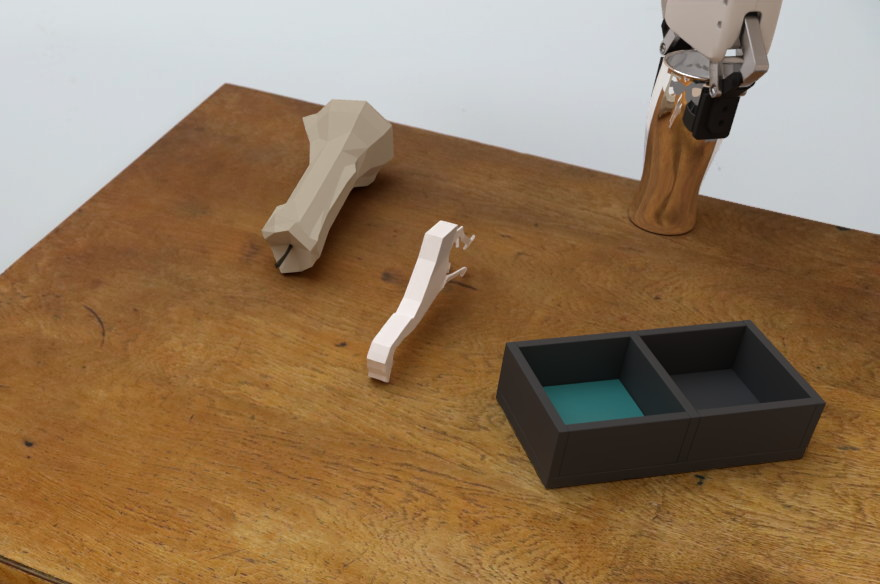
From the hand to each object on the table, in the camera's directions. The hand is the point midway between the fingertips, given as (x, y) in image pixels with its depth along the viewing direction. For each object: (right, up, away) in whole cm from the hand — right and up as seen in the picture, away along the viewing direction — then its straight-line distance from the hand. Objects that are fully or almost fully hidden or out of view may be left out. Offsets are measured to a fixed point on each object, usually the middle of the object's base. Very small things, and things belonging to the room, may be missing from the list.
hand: (688, 116), depth 97 cm
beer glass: (0, -8, +6) cm, 10 cm away
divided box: (-9, -27, -18) cm, 33 cm away
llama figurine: (-24, -19, -9) cm, 32 cm away
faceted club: (-33, -9, +4) cm, 34 cm away
